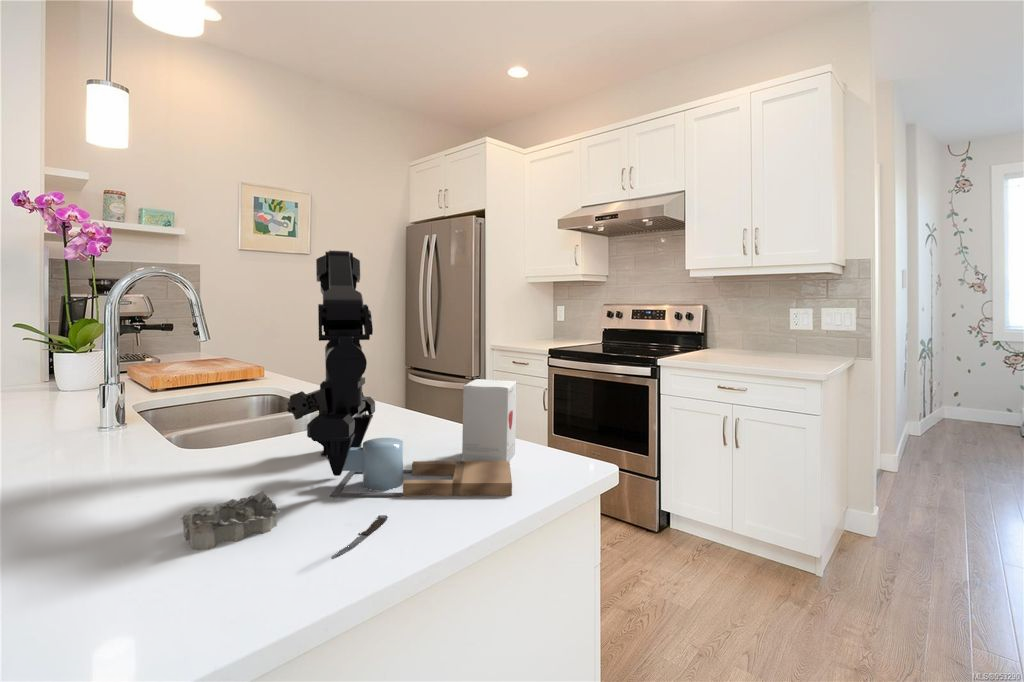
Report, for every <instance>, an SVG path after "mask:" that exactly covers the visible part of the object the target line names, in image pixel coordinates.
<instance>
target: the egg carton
mask: <svg viewBox="0 0 1024 682" xmlns="http://www.w3.org/2000/svg"><path fill="white" fill-rule="evenodd" d="M277 513H281V510H280V509H279V508H277V505H276V503H274V502H273V501H272V500H271V498H270V496H267V494H266V493H265V492H264V491H263V490H262V491H259V492H258V493H255V494H254V495H250V496H247V497H240V498H239V500H235V499H234V498H233V499H230V500H228V501H226V502H222V503H217V504H214V505H211V506H197V507H193V508H191V509H189V510H188V511H187V512H186V513H184V514H183V515H182V516H181V517H180V520H182V523H183V524H182V525H183V527H182V528H183V529H182V530H183V538H184V540H185V541H186V542H187V541H189V543H190V549H191V551H194V550H204V551H205V550H208V551H209V550H211V549H214V548H216V546H217V545H218V544H220V543H222V542H228V541H230V540H231V541H232V542H233V541H234V542H238V541H241V540H243V539H245V537H246V536H248V535H250V534H255V532H256V533H261V534H267V533H269V532H272V529H273V528H275V527H277V526H278V522H277V519H278V518H277V516H278V515H277Z"/></svg>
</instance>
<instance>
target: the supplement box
mask: <svg viewBox="0 0 1024 682" xmlns="http://www.w3.org/2000/svg"><path fill="white" fill-rule="evenodd" d="M516 415H517V381H516V380H506V379H505V380H498V379H497V380H496V379H483V378H481V379H479V378H475V379H473V380H472V381H469V382H468V383H466V384H464V385H463V388H462V440H461V441H462V444H461V446H462V451H461V452H462V457H461V459H462V460H461V461H509V462H510V461H511V460H512V458H513V457H514V456H515V454H516V432H517V431H516V427H517V426H516V424H517V423H516V422H517V421H516V419H517V417H516Z"/></svg>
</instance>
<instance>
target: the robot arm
mask: <svg viewBox="0 0 1024 682" xmlns="http://www.w3.org/2000/svg"><path fill="white" fill-rule="evenodd" d="M315 260H316V261H315V262H316V263H315V264H316V265H315V266H316V271H315V272H316V273H315V275H316V282H318V283H320V293H321V294H322V303H318V305H317V306H318V308H317V309H318V310H317V311H318V313H317V314H318V342H319V341H322V342H323V341H324V342H325V341H328V342H327V343H326V344H325V346H324V352H325V353H324V354H325V356H324V358H325V359H324V360H325V365H324V366H325V379H324V380H323V381H321V383H319V384H320V385H319V389H317V390H314V391H311V392H308V393H305V392H304V391H299V392H298V393H293V394H291V395H289V400H288V402H287V405H288V407H287V409H286V410H287V412H288V413H291V414H293V417H294V420H299V419H303V417H304V416H307V415H310V414H312V413H315V412H318V415H317V416H315V417H314V418H313V419H311V420H310V422H308V423H307V424H306V437H307V438H309V439H311V440H312V441H313V442H317V443H318V444H320V445H321V446H322V447H323V450H322V451H320V456H326V457H327V459H328V463H329V467H330V469H331V472H332V475H333V476H335V477H336V476H341V475H342V473H343V472H344V471H343V468H344V465H345V462H346V459H347V456H348V453H349V450H350V447H363V441H364V439H365V436H366V433H367V431H368V428H369V426H370V424H371V422H372V419H373V418H374V413H375V412H376V401H375V400H374V398H372V397H371V396H364V392H363V385H365V384H366V377H363V375H364V374H365V372H366V369H367V366H368V365H367V363H368V361H367V358H366V355H365V353H364V352H363V350H362V349H363V348H362V345H361V341H370V338H371V336H372V335H373V333H374V332H373V329H374V328H373V320H372V312H371V310H370V309H369V305H368V304H365V303H364V298H363V295H362V293H361V292H360V291H358V290H357V284H358V283H360V281H361V261H360V259H358V258H356V257H355V256H354V254H353V252H350V251H349V250H328V251H325V255H322V256H320V257H318V258H316V259H315ZM323 332H324V334H323Z"/></svg>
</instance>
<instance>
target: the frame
mask: <svg viewBox="0 0 1024 682" xmlns="http://www.w3.org/2000/svg"><path fill="white" fill-rule="evenodd" d="M354 473H355V474H363V471H347V474H346V475H345V476H344V478H343V479H342V480H341V481H340V482H339V484H338V485H337V486H336V487H335V488H334V489H333V491H331V493H330V495H329V498H401V497H402V496H403V492H342V490H343V489H344V488H345V487H344V486H347V484H348V483H349V482H350V480H351V479H352V478H353V476H355V474H354ZM403 474H412V469H403ZM351 477H352V478H351ZM340 491H341V492H340Z"/></svg>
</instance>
